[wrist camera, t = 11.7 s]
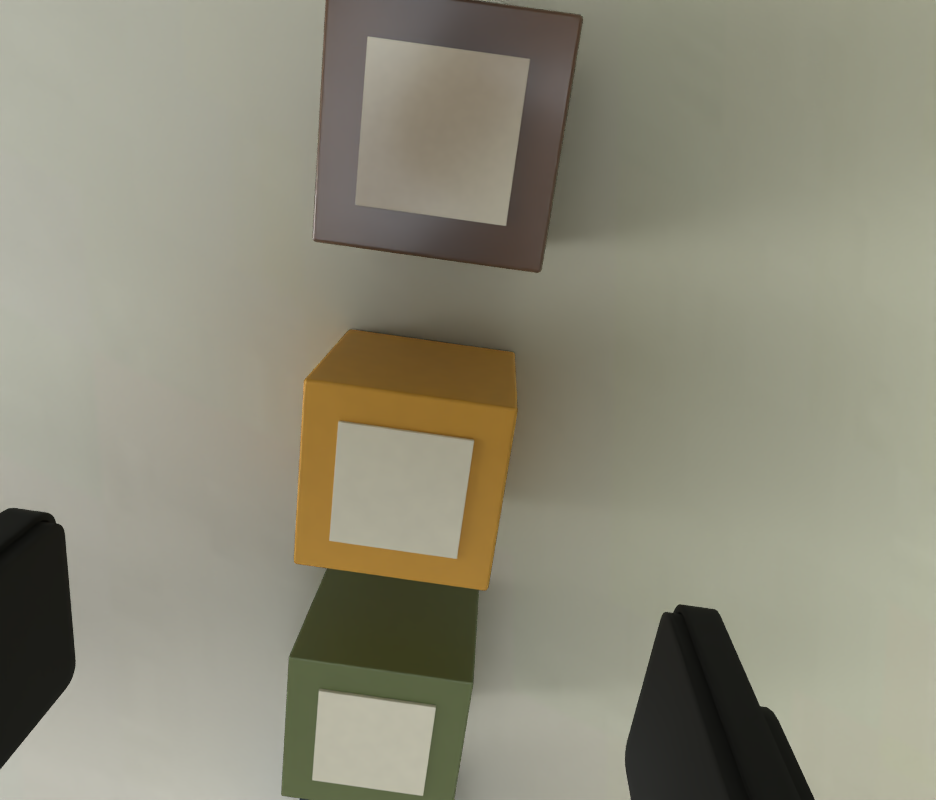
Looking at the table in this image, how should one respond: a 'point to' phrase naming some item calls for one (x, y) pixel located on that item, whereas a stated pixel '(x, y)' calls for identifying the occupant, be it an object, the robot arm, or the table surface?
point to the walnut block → (442, 128)
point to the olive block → (379, 690)
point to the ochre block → (405, 458)
